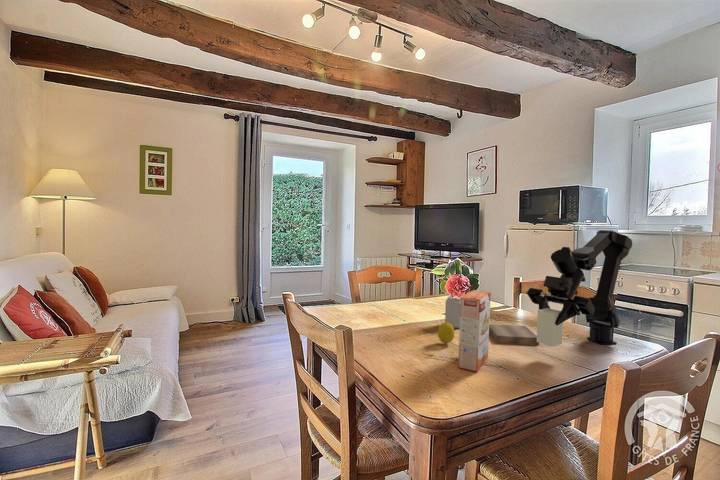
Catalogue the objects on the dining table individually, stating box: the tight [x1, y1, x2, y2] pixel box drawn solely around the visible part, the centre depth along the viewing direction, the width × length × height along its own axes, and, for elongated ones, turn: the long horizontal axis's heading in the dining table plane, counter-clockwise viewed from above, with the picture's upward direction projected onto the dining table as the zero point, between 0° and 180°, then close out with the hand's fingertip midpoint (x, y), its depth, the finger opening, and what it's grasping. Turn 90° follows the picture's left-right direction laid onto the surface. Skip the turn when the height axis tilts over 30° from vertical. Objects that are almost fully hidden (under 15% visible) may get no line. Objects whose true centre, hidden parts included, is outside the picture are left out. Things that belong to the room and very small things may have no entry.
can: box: [444, 295, 461, 329], centre depth 142 cm, size 8×8×12 cm
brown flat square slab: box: [489, 323, 540, 346], centre depth 129 cm, size 14×14×3 cm
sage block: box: [536, 308, 564, 348], centre depth 108 cm, size 5×5×10 cm
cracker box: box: [457, 289, 492, 373], centre depth 105 cm, size 14×6×21 cm, turn 148°
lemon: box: [437, 321, 455, 345], centre depth 121 cm, size 6×6×8 cm
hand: (547, 322), depth 107 cm, fingers closed on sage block, 5 cm apart
